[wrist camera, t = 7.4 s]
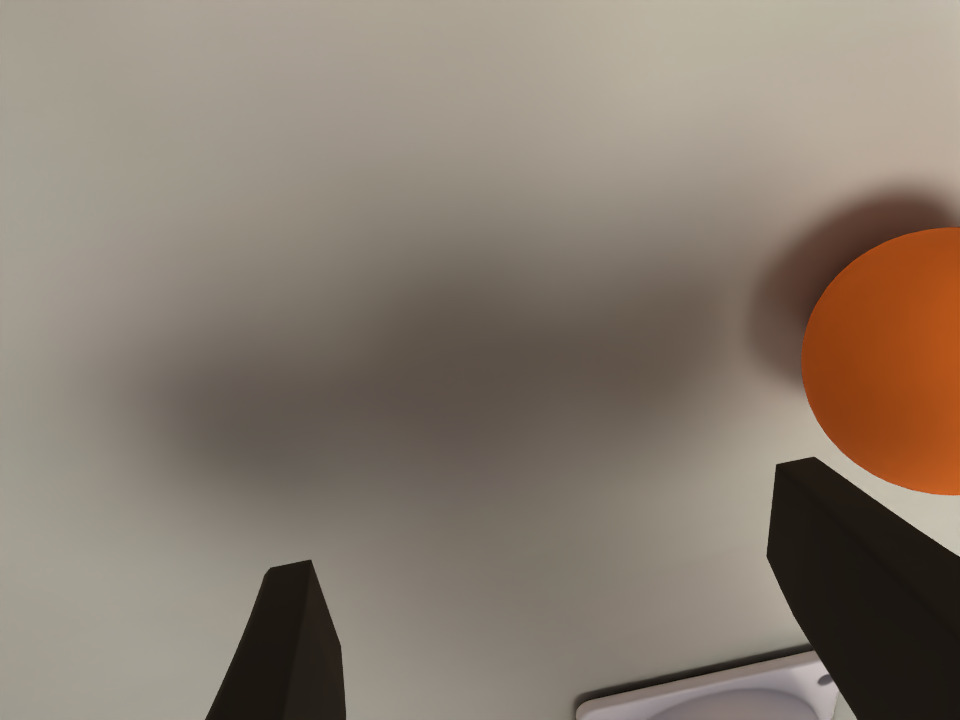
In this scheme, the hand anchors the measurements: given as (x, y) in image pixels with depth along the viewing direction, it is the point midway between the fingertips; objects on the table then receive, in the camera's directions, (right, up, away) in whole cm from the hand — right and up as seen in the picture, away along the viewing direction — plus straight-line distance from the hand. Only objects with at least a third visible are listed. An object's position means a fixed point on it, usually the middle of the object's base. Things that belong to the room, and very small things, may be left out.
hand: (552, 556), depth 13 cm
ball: (+8, +3, +3) cm, 9 cm away
